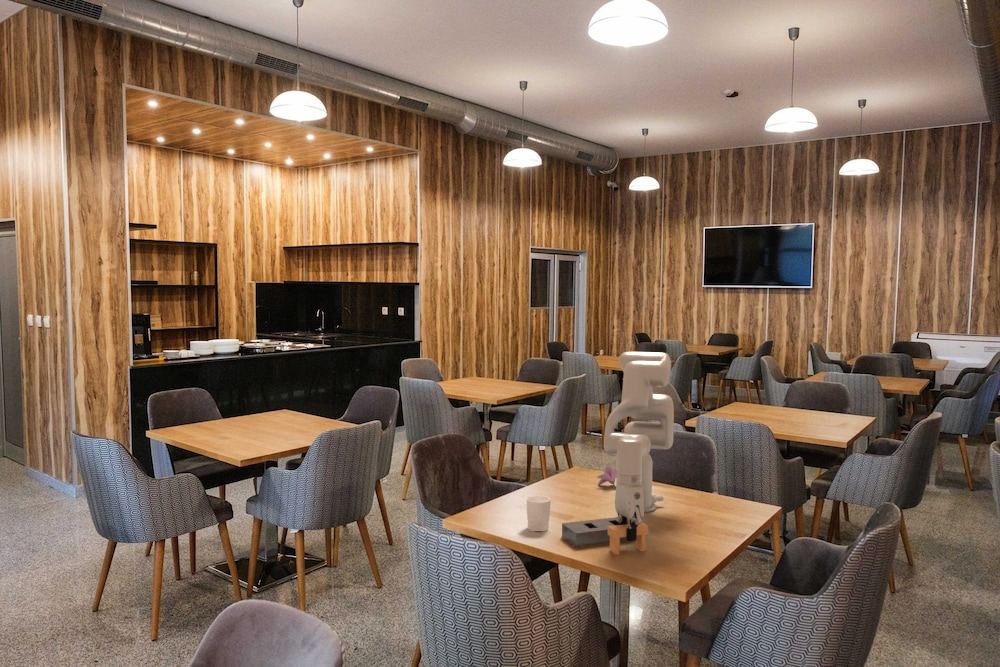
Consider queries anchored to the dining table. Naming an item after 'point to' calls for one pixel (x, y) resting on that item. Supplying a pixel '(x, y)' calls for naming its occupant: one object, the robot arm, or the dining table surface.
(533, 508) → the white cup
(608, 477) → the lily
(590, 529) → the grey slotted block
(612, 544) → the orange arch block
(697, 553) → the dining table surface
